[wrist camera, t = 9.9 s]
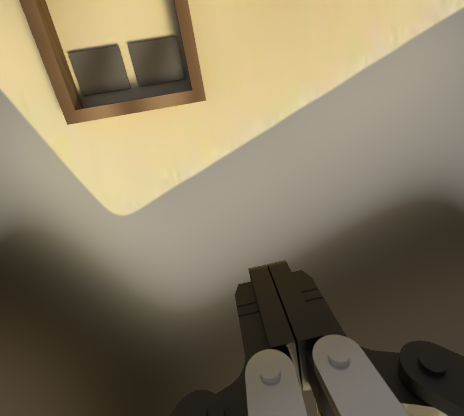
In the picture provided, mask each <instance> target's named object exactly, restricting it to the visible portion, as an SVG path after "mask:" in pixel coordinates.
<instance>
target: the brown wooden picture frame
mask: <svg viewBox="0 0 464 416" xmlns="http://www.w3.org/2000/svg"><path fill="white" fill-rule="evenodd" d="M20 3H21V6H22V8H23V11H24V13H25V16H26V19H27V21H28V24H29V26H30V29H31V31H32V34H33V37H34V39H35V42H36V44H37V47H38V50H39V52H40V55H41V57H42V60H43V63H44V65H45V68H46V70H47V73H48V76H49V78H50V81H51V83H52V86H53V89H54V91H55V94H56V96H57V99H58V102H59V104H60V107H61V109H62V112H63V115H64V117H65V120H66V122H67V125H68V124H74V123H80V122H85V121H91V120H97V119H103V118H108V117H114V116H120V115H126V114H131V113H137V112H143V111H148V110H154V109H160V108H166V107H171V106H177V105H183V104H189V103H194V102H200V101H206V98H205V92H204V87H203V82H202V76H201V71H200V65H199V60H198V54H197V49H196V43H195V38H194V32H193V27H192V22H191V16H190V11H189V5H188V0H174V3H175V8H176V13H177V18H178V23H179V28H180V33H181V38H182V43H183V48H184V53H185V58H186V63H187V68H188V73H189V78H190V83H191V88H192V90H191V91H185V92H179V93H173V94H167V95H161V96H156V97H150V98H144V99H138V100H132V101H126V102H121V103H115V104H109V105H103V106H97V107H91V108H85V109H83V106H82V103H81V100H80V98H79V95H78V92H77V89H76V86H75V84H74V81H73V78H72V75H71V72H70V69H69V67H68V64H67V61H66V58H65V55H64V52H63V50H62V47H61V44H60V41H59V38H58V36H57V33H56V30H55V27H54V24H53V21H52V19H51V16H50V13H49V10H48V7H47V5H46V2H45V0H20ZM128 46H129V50H130V54H131V57H132V61H133V65H134V68H135V72H136V76H137V80H138V83H139V86H146V85H152V84H158V83H164V82H170V81H176V80H182V79H185V76H184V71H183V66H182V61H181V56H180V52H179V47H178V42H177V37H171V38H164V39H158V40H151V41H145V42H138V43H132V44H128ZM68 55H69V57H70V60H71V63H72V66H73V69H74V72H75V75H76V78H77V80H78V83H79V86H80V89H81V92H82V95H83V96H86V95H92V94H98V93H104V92H110V91H116V90H122V89H128V88H130V84H129V81H128V77H127V73H126V70H125V66H124V63H123V59H122V56H121V52H120V49H119V46H113V47H106V48H100V49H93V50H87V51H80V52H74V53H68Z"/></svg>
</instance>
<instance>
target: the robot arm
mask: <svg viewBox="0 0 464 416" xmlns="http://www.w3.org/2000/svg"><path fill="white" fill-rule="evenodd" d="M249 274H250V279H251V282H247V283H243V284H239V285H238V287H237V290H236V293H235V299H236V305H237V310H238V316H239V322H240V328H241V334H242V340H243V346H244V352H245V364H244V368H243V370H242V372H241V374H240V376H239V377H238V378H237V379H236V381H235V382H233V383H232V384H231V385H230V386H228V387H226V388H225V389H223V390H221V391H220V392H218V393H217V394H214V393H213V392H210V391H208V390H196V391H194V392H191V393H190V394H187V395H186V396H185V397H184V398H183V399H181V401H180V402H179V403H178V404H177V405H176V407H175V408H174V410H173V411H172V413H171V414H170V416H307V413H306V409H305V405H304V401H303V398H302V394H301V385H302V388H303V391H305V390H309V389H311V390H312V392H313V395H314V398H315V401H316V403H317V412H318V416H464V356H461V355H459V354H457V353H455V352H452V351H450V350H448V349H446V348H444V347H441V346H439V345H436V344H434V343H430V342H426V341H412V342H409V343H407V344H406V345H404V346H403V347H402V349H401V351H400V353H394V352H383V351H374V350H369V349H366V348H363V347H361V346H359V345H358V344H357V343H355V342H354V341H353V340H351V339H349V338H348V337H347V336H346V334H345V333H344V332H343V330H342V328H341V326H340V325H339V323H338V321H337V320H336V318H335V316H334V315H333V313H332V311H331V310H330V308H329V306H328V304H327V302H326V301H325V299H324V298H323V296H322V294H321V292H320V290H318V287H317V285H316V284H315V282H314V280H313V278H312V277H310V276H309V275H308V274H306V273H305V272H304V271H302V270H300V271H296V272H291V270H290V268H289V266H288V264H287V262H286V261H279V262H275V263H271V264H267V265H262V266H257V267H253V268H249ZM300 382H301V384H300Z"/></svg>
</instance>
